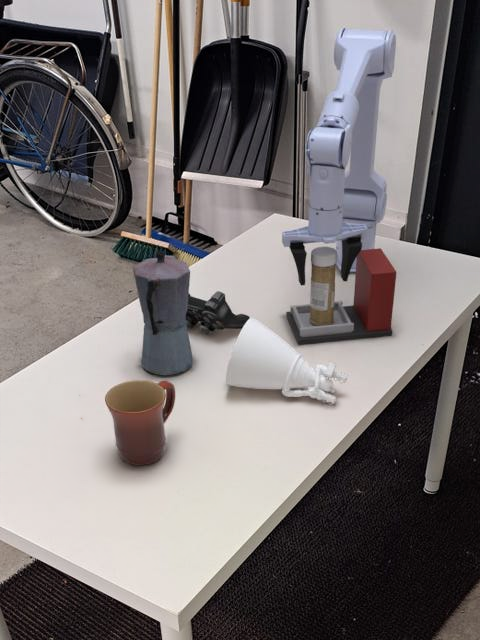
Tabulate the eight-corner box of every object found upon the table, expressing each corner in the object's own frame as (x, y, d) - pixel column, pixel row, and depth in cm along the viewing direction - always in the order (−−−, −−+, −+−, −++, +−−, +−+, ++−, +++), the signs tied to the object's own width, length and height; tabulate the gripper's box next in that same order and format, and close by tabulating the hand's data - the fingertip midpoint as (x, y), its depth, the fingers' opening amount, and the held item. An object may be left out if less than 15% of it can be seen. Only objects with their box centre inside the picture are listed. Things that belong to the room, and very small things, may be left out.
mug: (142, 478, 125) (135, 420, 118) (101, 456, 129) (92, 399, 122) (197, 440, 132) (193, 383, 125) (156, 421, 136) (150, 364, 129)
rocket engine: (356, 346, 133) (250, 306, 135) (328, 414, 132) (222, 373, 134) (354, 368, 144) (256, 331, 146) (328, 431, 143) (230, 393, 146)
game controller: (167, 329, 164) (147, 296, 155) (185, 302, 165) (166, 267, 156) (237, 352, 156) (220, 319, 148) (255, 323, 158) (239, 288, 149)
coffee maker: (286, 316, 161) (286, 255, 153) (375, 307, 163) (381, 246, 155) (297, 345, 153) (299, 282, 145) (392, 335, 154) (398, 272, 146)
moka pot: (201, 344, 154) (194, 235, 141) (189, 390, 142) (180, 277, 129) (149, 342, 155) (137, 234, 141) (133, 388, 143) (118, 275, 130)
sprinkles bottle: (338, 321, 156) (343, 250, 147) (322, 330, 154) (325, 258, 145) (320, 313, 159) (323, 243, 150) (303, 321, 157) (305, 251, 148)
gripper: (288, 217, 139) (287, 294, 148) (374, 209, 140) (368, 287, 149) (280, 201, 144) (279, 277, 153) (363, 194, 145) (358, 269, 154)
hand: (323, 281), depth 151 cm, fingers open, 7 cm apart
